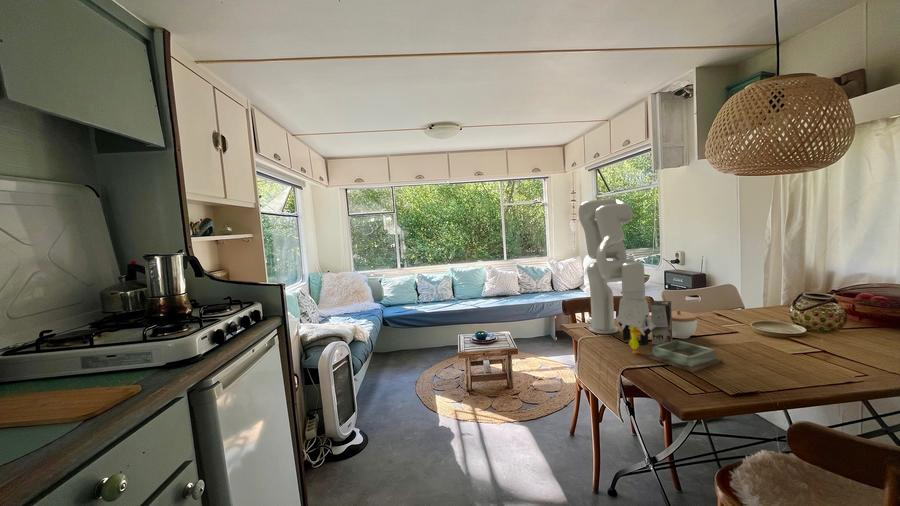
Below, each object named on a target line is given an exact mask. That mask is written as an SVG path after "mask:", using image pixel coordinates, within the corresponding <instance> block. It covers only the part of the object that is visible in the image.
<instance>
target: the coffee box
mask: <svg viewBox="0 0 900 506" xmlns="http://www.w3.org/2000/svg"><path fill="white" fill-rule="evenodd" d="M650 309H651V311H650V312H651V313H650V318H651V319H650V320H651V321H652V322H653V323H654V325H655V326H656V327H655V328H654V329H653V330H652V331H651V343H652V345H654V346H657V345H660V344H663V343H667V342H670V341H673V337H672V313H671V311H672V301H669V300H653V301H652V303H651V304H650Z"/></svg>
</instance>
